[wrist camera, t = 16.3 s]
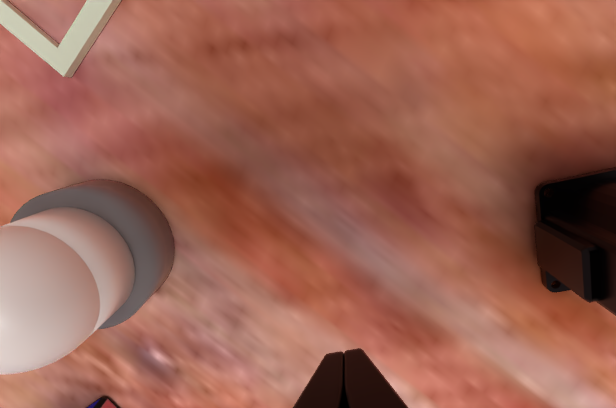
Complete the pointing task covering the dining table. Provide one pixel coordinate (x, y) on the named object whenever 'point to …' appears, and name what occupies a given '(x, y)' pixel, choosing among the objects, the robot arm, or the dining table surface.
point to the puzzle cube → (102, 404)
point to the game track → (75, 41)
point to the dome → (58, 284)
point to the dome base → (120, 232)
